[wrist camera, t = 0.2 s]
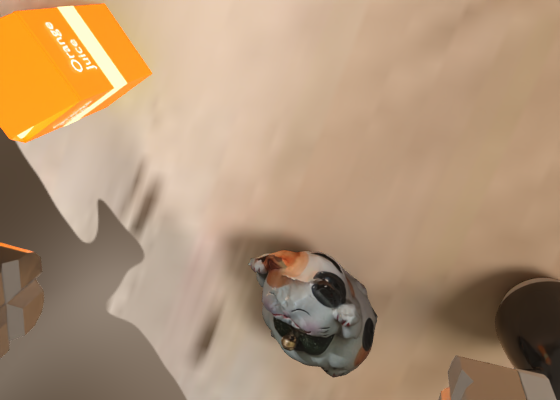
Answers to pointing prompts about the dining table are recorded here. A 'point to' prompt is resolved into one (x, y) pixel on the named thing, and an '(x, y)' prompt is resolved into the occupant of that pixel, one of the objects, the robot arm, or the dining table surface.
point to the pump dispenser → (532, 328)
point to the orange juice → (62, 67)
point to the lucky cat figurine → (315, 309)
